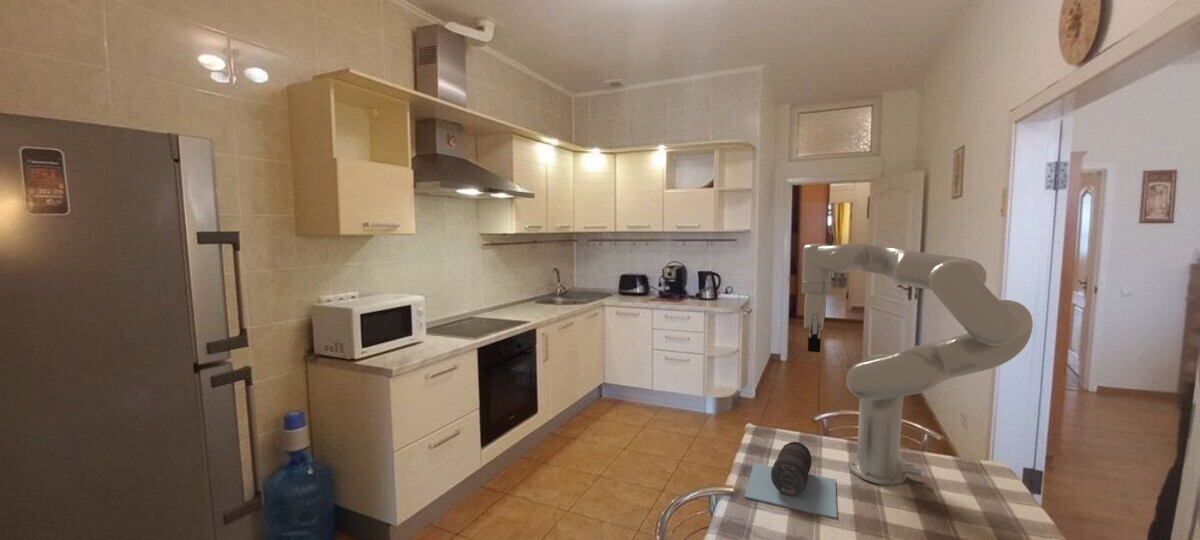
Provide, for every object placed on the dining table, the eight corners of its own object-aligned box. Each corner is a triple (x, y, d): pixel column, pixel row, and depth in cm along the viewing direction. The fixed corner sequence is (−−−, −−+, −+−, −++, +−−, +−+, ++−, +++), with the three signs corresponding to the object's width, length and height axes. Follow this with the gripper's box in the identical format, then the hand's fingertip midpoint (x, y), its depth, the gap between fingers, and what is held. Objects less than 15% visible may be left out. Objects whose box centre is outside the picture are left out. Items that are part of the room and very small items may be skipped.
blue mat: (835, 480, 120) (835, 479, 120) (836, 519, 105) (837, 517, 105) (753, 464, 129) (753, 463, 129) (744, 497, 113) (744, 496, 113)
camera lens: (816, 470, 123) (807, 499, 111) (783, 467, 128) (772, 494, 115) (811, 440, 123) (803, 465, 110) (779, 437, 128) (767, 461, 115)
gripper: (802, 283, 141) (800, 343, 143) (801, 290, 127) (798, 356, 129) (830, 284, 138) (827, 346, 140) (831, 292, 124) (829, 359, 126)
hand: (813, 351), depth 134 cm, fingers closed
